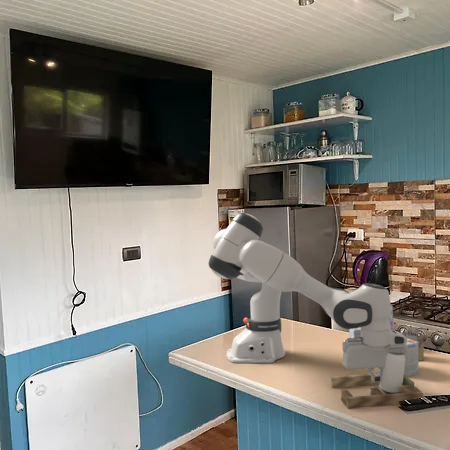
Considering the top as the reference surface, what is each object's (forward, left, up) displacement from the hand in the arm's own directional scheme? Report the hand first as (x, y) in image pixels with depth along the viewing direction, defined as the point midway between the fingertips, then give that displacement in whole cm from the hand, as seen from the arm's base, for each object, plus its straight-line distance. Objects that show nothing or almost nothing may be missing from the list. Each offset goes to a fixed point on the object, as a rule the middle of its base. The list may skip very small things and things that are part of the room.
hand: (376, 381), depth 143 cm
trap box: (-2, -2, -3) cm, 4 cm away
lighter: (+24, +25, -3) cm, 35 cm away
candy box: (+16, +42, -3) cm, 45 cm away
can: (+4, 0, -3) cm, 5 cm away
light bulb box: (+14, +15, -3) cm, 21 cm away
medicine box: (+8, +39, -3) cm, 40 cm away
